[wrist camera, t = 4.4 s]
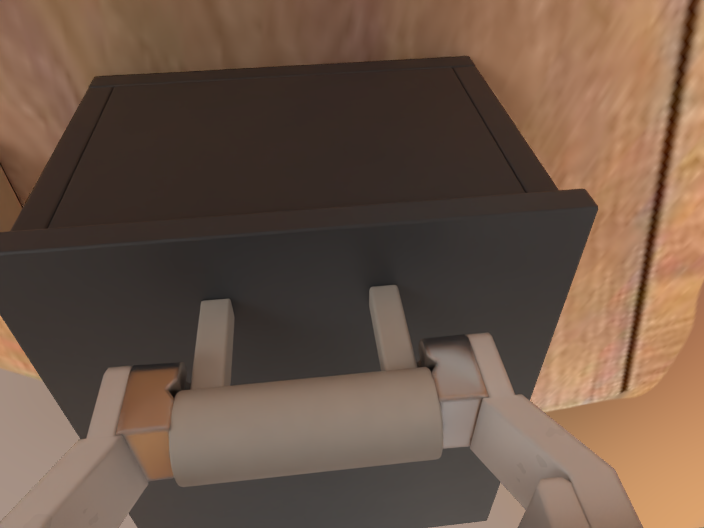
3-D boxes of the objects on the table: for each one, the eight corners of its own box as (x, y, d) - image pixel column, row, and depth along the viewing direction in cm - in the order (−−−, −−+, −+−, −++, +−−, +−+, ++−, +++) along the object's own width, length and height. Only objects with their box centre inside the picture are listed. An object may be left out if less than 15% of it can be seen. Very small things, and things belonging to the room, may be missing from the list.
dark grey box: (93, 76, 20) (-8, 258, 13) (469, 55, 21) (575, 212, 14) (186, 353, 31) (160, 539, 23) (432, 330, 32) (481, 501, 24)
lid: (-25, 232, 12) (-157, 444, 8) (585, 187, 13) (712, 358, 9) (160, 540, 23) (139, 690, 20) (481, 502, 24) (521, 638, 21)
